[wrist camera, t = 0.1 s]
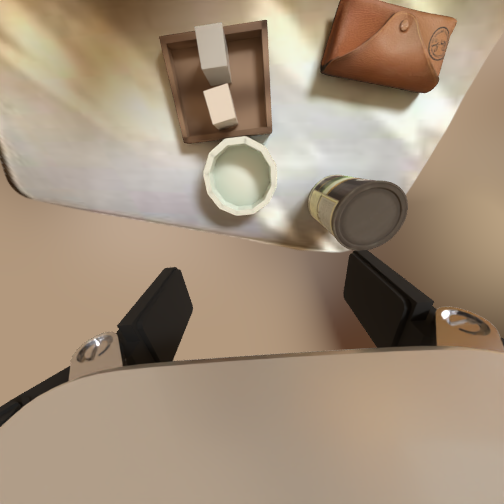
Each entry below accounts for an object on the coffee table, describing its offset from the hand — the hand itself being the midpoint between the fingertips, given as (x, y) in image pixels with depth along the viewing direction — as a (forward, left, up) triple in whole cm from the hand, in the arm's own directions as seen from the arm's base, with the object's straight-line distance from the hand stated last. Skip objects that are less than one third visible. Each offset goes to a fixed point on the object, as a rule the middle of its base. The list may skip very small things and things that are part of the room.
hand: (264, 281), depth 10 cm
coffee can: (+3, +16, -31) cm, 35 cm away
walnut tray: (-17, -4, -31) cm, 36 cm away
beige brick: (-14, -4, -31) cm, 34 cm away
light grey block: (-20, -4, -31) cm, 37 cm away
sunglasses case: (-21, +22, -32) cm, 44 cm away
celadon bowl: (-3, -2, -31) cm, 31 cm away
